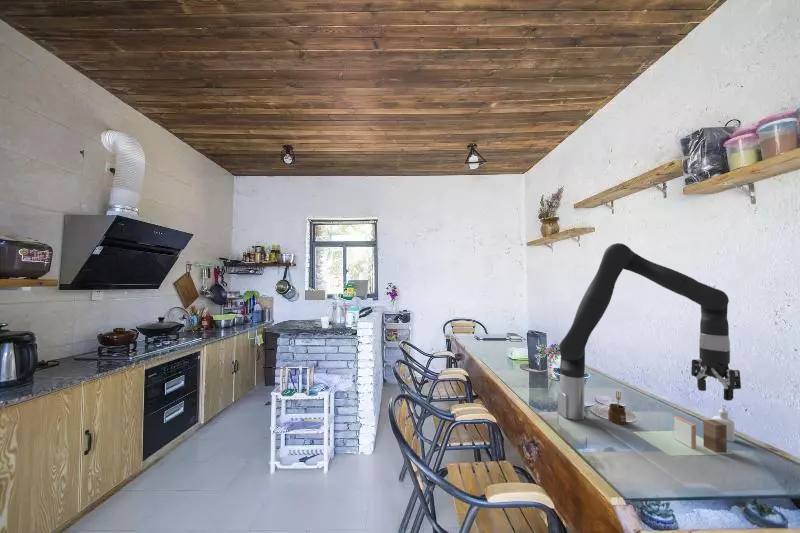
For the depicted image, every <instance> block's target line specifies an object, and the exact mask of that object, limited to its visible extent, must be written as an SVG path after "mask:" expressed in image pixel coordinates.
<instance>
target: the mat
mask: <svg viewBox="0 0 800 533" xmlns="http://www.w3.org/2000/svg"><path fill="white" fill-rule="evenodd" d="M632 433H633V434H634V435H636V436H638V437H640V438H641V439H642V440H644V441H645V442H647V443H649V444H650V445H651V446H654V447H655V448H657V449H658V450H660V451H661V452H663V453H665V455H668V456H669V457H683V456H685V457H686V456H712V455H713V456H714V455H715V456H716V455H718V456H719V455H733V453H732V452H730V451H728V450H727V452H719V453H715V452H713V451H712V450H710V449H708V448H706V447H704V437H700V436H699V435H697V434H696V449H692V448H690V447H688V446H686V445H685V444H683V443H681V442H679V441H677V440H676V439H674V430H655V431H654V430H651V431H650V430H649V431H632Z"/></svg>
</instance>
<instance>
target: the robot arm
mask: <svg viewBox="0 0 800 533" xmlns="http://www.w3.org/2000/svg"><path fill="white" fill-rule="evenodd" d="M623 270H625V271H629V272H631V273H634V274H638V275H639V276H642V277H644V278H646V279H648V280H649V281H651V282H653V283H655V284H657V285H658V286H661V287H663V288H664V289H667V290H669V291H670V292H673V293H675V294H678V295H680V296H682V297H684V298H687V299H689V300H690V301H692V302H694V303H696V304H698V306H699V305H700V315H701V316H700V322H699V323H700V324H699V327H700V328H699V330H700V331H699V341H698V343H699V348H698V349H699V357H698V358H699V359H691V370H690V371H691V373H690V374H691V376H692V377H694V378H696V380H697V382H696V383H697V384H696V385H697V389H698V391H701V392H705V391H707V381H706V379H707V378H708V377H711V378H713V379H716V380H717V381H718V382H719V383H721V384H722V387H724V388H723V400H725V401H726V402H727V401H733V399H734V390H740V389H742V381H741V371H740V369H739V370H738V369H731V368H730V367H729V364H730V362H731V354H730V353H731V342H730V337H729V334H730V333H729V329H730V328H729V320H728V305H729V302H730V299H729V296H728V295H727V293H726V292H724V291H723V290H721V289H718V288H715V287H713V286H710V285H707V284H705V283H702V282H699V281H698V280H696V279H694V278H693V277H691V276H689V275H687V274H684V273H681V272H679V271H678V270H674V269H672V268H670V267H666V266H664V265H661V264H658V263H655V262H653V261H651V260H648V259H646V258H644V257H643V256H640V255H639V254H638V253H636V252H634V251H633V250H632V249H631V247H629V246H628V245H626V244H624V243H619V242H617V243H612V244H611V245H609V246H608V247H607V248H606V249H605V250H604V253H603V255H602V258H601V261H600V263H599V267H598V269H597V272H596V274H595V276H594V277H593V279H592V281H591V282H590V284H589V285H588V287H587V289H586V291H585V292H584V295H583V297H582V299H581V301H580V303H579V304H578V308H577V309H576V313H575V316H574V319H573V322H572V324H571V327H570V328H569V329H568V332H566V334H565V337H564V338H562V340H561V341H560V343H559V346H558V348H559V353H560V364H559V390H557V414H559V415H561V416H562V417H563V418H564V419H569V420H573V421H574V420H575V421H581V420H584V419H585V373H586V372H585V369H586V363H585V362H586V346H587V344H588V341H589V338H590V336H591V335H592V333H593V331H594V330H595V328H596V327H597V325H598V323H599V322H600V321H601V319H602V318H603V316H604V314H605V313H606V311H607V308H608V307H609V305H610V302H611V299H612V297H613V293H614V290H615V287H616V283H617V281H618V278H619V277H620V275H621V273H622V272H623Z"/></svg>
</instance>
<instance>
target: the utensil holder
mask: <svg viewBox="0 0 800 533" xmlns="http://www.w3.org/2000/svg"><path fill="white" fill-rule="evenodd" d="M621 393H622V391H616V394H615V396H614V399H615V400H616V402H617V403H614V401H611V402H612V403H610V404H609V408H608V413H607V414H608V415H607V417H608V418H607V419H608V421H609V422H610V423H612V424H616V425H627V414H626V412H625V411H626V408H625V406H623V405H621V404H620V400H621V397H622V394H621Z"/></svg>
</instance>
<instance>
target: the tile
mask: <svg viewBox="0 0 800 533" xmlns="http://www.w3.org/2000/svg"><path fill="white" fill-rule="evenodd" d="M673 431H674V439H676V440H677V441H679V442H681V443H683V444H685V445H686V446H688V447H690V448H692V449H696V435H697V425H696V424H694V423H692V422H690V421H688V420H686V419H683V418H681V417H680V416H677V415H674V416H673Z"/></svg>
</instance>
